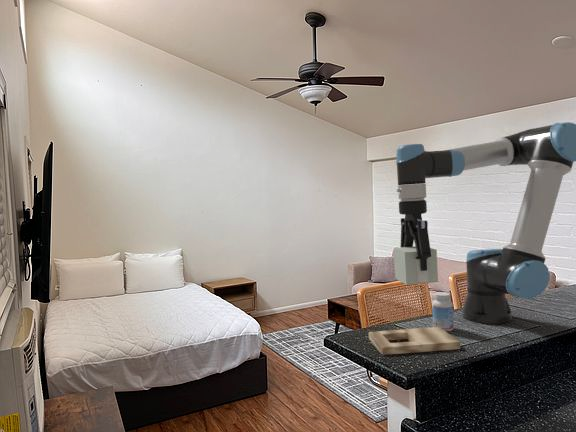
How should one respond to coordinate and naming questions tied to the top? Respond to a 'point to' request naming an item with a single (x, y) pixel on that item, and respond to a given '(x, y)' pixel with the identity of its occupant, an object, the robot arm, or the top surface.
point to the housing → (413, 265)
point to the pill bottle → (443, 311)
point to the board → (413, 340)
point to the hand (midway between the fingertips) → (416, 278)
